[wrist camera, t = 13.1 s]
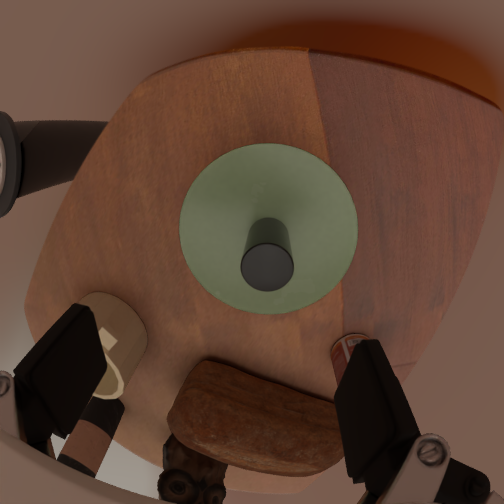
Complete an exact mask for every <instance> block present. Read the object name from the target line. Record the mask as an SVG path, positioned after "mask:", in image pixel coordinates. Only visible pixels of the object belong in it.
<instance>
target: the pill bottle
mask: <svg viewBox="0 0 504 504" xmlns="http://www.w3.org/2000/svg"><path fill="white" fill-rule="evenodd" d="M363 339H369V338H368V337H366V336H365V335H362V334H350V335H347V336H345V337H343V338H341V339H340V340H339V341H337V343H336V344H335V345H334V346H333V348H332V351H331V360H332V364H333V368H334V372H335V377H336V381H337V385H339V383H340V381H341V378H342V376H343V374H344V371H345V369H346V367H347V364H348V362H349V359H350V357H351V354H352V352H353V349H354V347H355V345H356V344H357V343H360V341H361V340H363Z"/></svg>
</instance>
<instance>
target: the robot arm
mask: <svg viewBox="0 0 504 504" xmlns="http://www.w3.org/2000/svg"><path fill="white" fill-rule="evenodd" d="M5 175H6V155H5V148H4V144H3V141H2V138H1V137H0V194H1V192H2V189H3V186H4V182H5ZM106 371H107V361H106V357H105V354H104V351H103V347H102V343H101V340H100V336H99V332H98V328H97V324H96V320H95V316H94V313H93V311H91V309H90V307H89V306H86V305H82V304H78V303H74V304H73V305H72V306H71V307H70V308H69V309H68V310H67V311H66V312H65V313H64V314H63V315H62V316H61V317H60V318H59V319H58V320H57V321H56V322H55V324H54V325H53V326H52V327H51V328H50V329H49V330H48V331H47V332H46V333H45V334H44V335H43V337H42V338H41V339H40V340H39V341H38V342H37V343H36V344H35V346H34V347H33V348H32V349H31V350H30V351H29V352H28V354H27V355H26V356H25V357H24V358H23V359H22V361H21V362H20V363H19V364H18V365H17V367H16V368H15V369H14V370H13V372H14V374H15V376H14V377H12V376H11V374H9V373H8V372H6V371H0V504H175V503H171V502H166V501H162V500H158V499H154V498H151V497H147V496H143V495H140V494H137V493H134V492H130V491H128V490H125V489H121V488H118V487H116V486H113V485H110V484H108V483H105V482H102V481H100V480H97V479H95V478H93V477H90V476H88V475H86V474H83V473H81V472H79V471H77V470H75V469H72V468H70V467H68V466H66V465H64V464H62V463H60V462H58V461H56V458H55V454H54V450H53V446H52V442H51V438H50V437H51V435H52V433H53V434H55V435H57V436H59V437H61V438H63V439H66V437H67V435H68V434H71V433H72V432H73V430H74V428H75V426H76V424H77V422H78V420H79V419H80V417H81V415H82V413H83V411H84V409H85V408H86V406H87V404H88V402H89V400H90V399H91V397H92V395H93V393H94V392H95V390H96V388H97V386H98V385H99V383H100V381H101V379H102V378H103V376H104V374H105V373H106ZM334 403H335V408H336V413H337V418H338V423H339V428H340V434H341V439H342V445H343V450H344V456H345V462H346V468H347V473H348V476H349V477H352V478H353V483H354V484H357V483H363V482H365V487H366V492H365V493H364V495H363V496H362V498H361V499H360V500H359V502H358V503H357V504H504V499H503V498H502V497H501V496H500V495H498V494H497V493H496V492H495V491H492V492H490V482H489V479H488V478H487V476H486V475H485V474H483V473H482V472H480V471H478V470H476V469H474V468H471V467H469V466H467V465H465V464H463V463H461V462H459V461H456V460H454V459H452V458H450V455H451V452H450V447H449V445H448V443H447V442H446V441H445V439H444V438H442V437H441V436H439V435H436V434H432V433H431V434H424V435H421V434H420V431H419V428H418V426H417V423H416V421H415V418H414V416H413V413H412V411H411V408H410V406H409V404H408V401H407V399H406V396H405V394H404V392H403V389H402V387H401V385H400V383H399V380H398V378H397V377H396V376H395V374H394V372H393V370H392V368H391V365H390V363H389V361H388V359H387V357H386V355H385V352H384V350H383V348H382V346H381V344H380V342H379V340H377V339H363V340H361V341H360V343H357V344H356V345H355V347H354V349H353V352H352V354H351V357H350V359H349V362H348V364H347V367H346V369H345V371H344V374H343V376H342V378H341V381H340V383H339V385H338V388H337V390H336V392H335V396H334Z"/></svg>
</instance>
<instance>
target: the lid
mask: <svg viewBox="0 0 504 504" xmlns="http://www.w3.org/2000/svg"><path fill="white" fill-rule="evenodd" d="M179 236H180V243H181V248H182V251H183V255H184V258H185V260H186V262H187V265H188V267H189V268H190V270H191V272H192V273H193V275H194V276H195V278H196V279H197V280H198V282H199V283H200V284H201V285H202V286H203V287H204V288H205V289H206V290H207V291H208V292H209V293H211V294H212V295H213V296H214V297H216V298H217V299H219V300H220V301H222V302H224V303H225V304H228V305H230V306H232V307H234V308H237V309H240V310H243V311H246V312H251V313H257V314H281V313H288V312H292V311H296V310H299V309H301V308H304V307H307V306H309V305H311V304H313V303H314V302H316V301H318V300H319V299H321V298H322V297H324V296H325V295H326V294H327V293H329V292H330V291H331V290H332V289H333V288H334V287H335V286H336V285H337V284H338V283H339V281H340V280H341V279H342V277H343V276H344V274H345V273H346V271H347V270H348V268H349V266H350V264H351V262H352V259H353V256H354V253H355V250H356V245H357V239H358V219H357V214H356V209H355V205H354V202H353V200H352V197H351V195H350V193H349V191H348V189H347V187H346V185H345V184H344V182H343V181H342V180H341V178H340V177H339V176H338V174H337V173H336V172H335V171H334V170H333V169H332V168H331V167H330V166H329V165H327V164H326V163H325V162H323V161H322V160H321V159H320V158H318V157H316V156H314V155H313V154H311V153H309V152H307V151H304V150H302V149H299V148H297V147H293V146H289V145H284V144H275V143H260V144H253V145H247V146H243V147H240V148H237V149H234V150H232V151H230V152H228V153H226V154H224V155H222V156H220V157H219V158H217V159H216V160H214V161H213V162H211V163H210V164H209V165H208V166H207V167H206V168H205V169H204V170H203V171H202V172H201V173H200V174H199V175H198V176H197V178H196V179H195V180H194V182H193V183H192V185H191V187H190V188H189V190H188V192H187V194H186V197H185V199H184V201H183V205H182V209H181V213H180V220H179Z"/></svg>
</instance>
